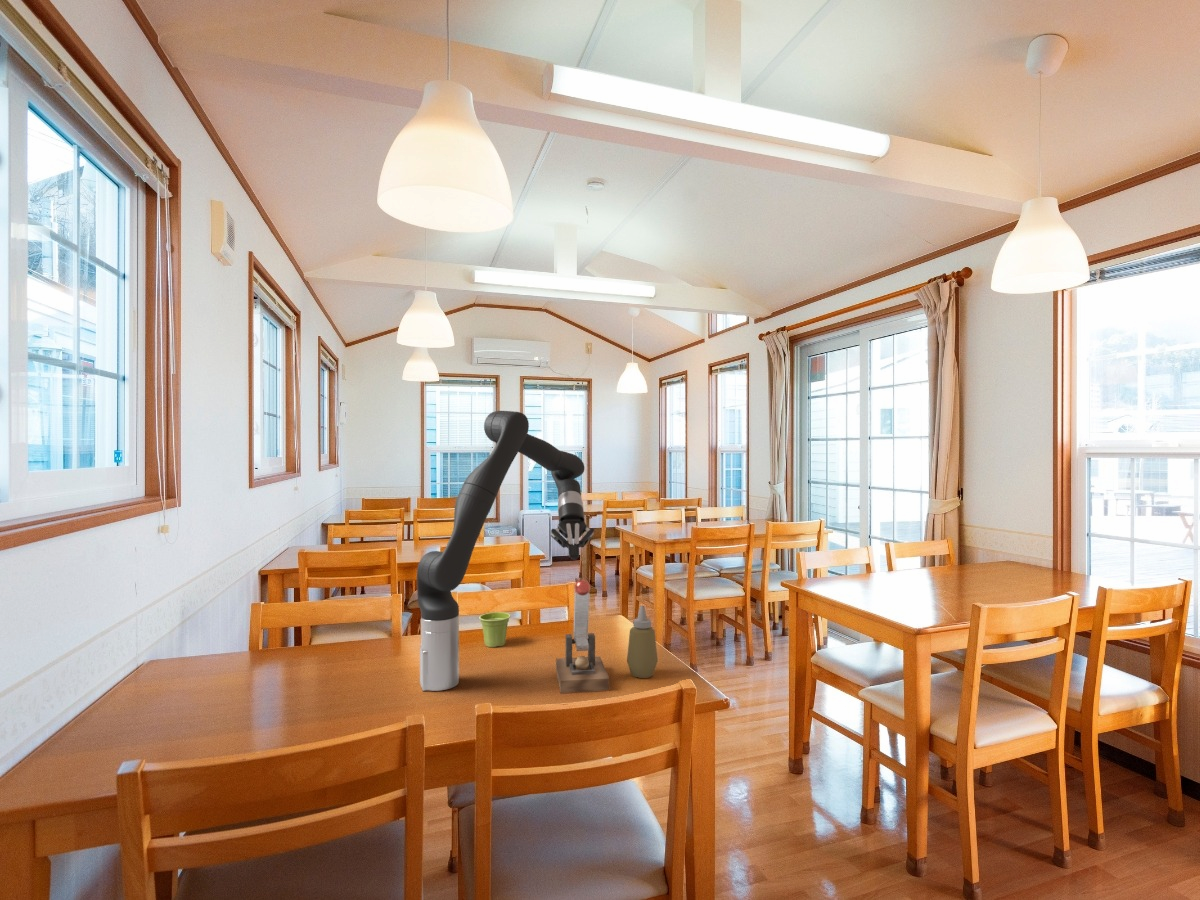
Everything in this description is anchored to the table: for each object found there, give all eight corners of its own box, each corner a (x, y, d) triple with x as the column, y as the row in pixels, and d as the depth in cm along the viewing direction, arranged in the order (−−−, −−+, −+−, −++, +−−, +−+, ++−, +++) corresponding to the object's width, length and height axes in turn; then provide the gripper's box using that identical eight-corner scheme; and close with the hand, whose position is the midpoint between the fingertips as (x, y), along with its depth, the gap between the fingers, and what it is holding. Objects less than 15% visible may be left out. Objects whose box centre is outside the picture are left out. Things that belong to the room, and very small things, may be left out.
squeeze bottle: (658, 680, 155) (658, 610, 155) (627, 680, 155) (627, 610, 155) (656, 669, 163) (656, 602, 163) (626, 669, 163) (626, 602, 163)
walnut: (578, 673, 152) (578, 659, 152) (573, 668, 155) (573, 655, 155) (591, 671, 153) (591, 657, 153) (585, 666, 156) (585, 653, 156)
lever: (574, 651, 153) (576, 592, 147) (572, 633, 160) (574, 576, 154) (590, 650, 153) (593, 591, 148) (587, 632, 160) (589, 576, 155)
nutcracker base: (560, 693, 147) (560, 649, 147) (556, 669, 162) (556, 630, 162) (609, 690, 148) (609, 647, 148) (600, 667, 164) (600, 628, 164)
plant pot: (473, 647, 181) (473, 618, 181) (488, 638, 190) (488, 611, 190) (501, 650, 178) (501, 621, 178) (515, 641, 187) (515, 613, 187)
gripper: (549, 501, 176) (551, 550, 164) (593, 501, 178) (599, 549, 166) (548, 518, 181) (550, 566, 169) (591, 517, 183) (596, 565, 171)
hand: (574, 557), depth 167 cm, fingers closed
